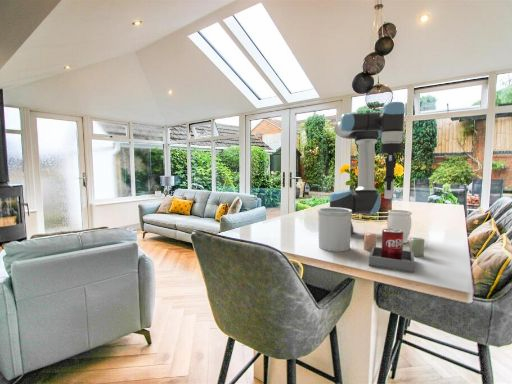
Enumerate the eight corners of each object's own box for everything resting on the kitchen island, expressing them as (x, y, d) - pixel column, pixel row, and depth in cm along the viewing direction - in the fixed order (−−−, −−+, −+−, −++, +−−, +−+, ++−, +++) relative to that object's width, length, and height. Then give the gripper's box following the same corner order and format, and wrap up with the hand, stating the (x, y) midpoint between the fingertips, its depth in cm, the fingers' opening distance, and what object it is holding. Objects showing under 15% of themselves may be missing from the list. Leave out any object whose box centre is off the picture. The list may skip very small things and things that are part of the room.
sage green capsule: (409, 256, 114) (410, 239, 113) (409, 253, 118) (410, 237, 117) (424, 258, 111) (425, 241, 111) (423, 254, 116) (424, 238, 115)
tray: (368, 265, 102) (369, 256, 102) (372, 254, 115) (372, 246, 115) (414, 272, 96) (414, 262, 95) (412, 260, 109) (413, 251, 108)
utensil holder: (332, 254, 116) (333, 213, 115) (310, 245, 130) (311, 208, 128) (358, 249, 123) (359, 210, 122) (334, 241, 136) (335, 206, 135)
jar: (409, 240, 140) (411, 210, 138) (411, 245, 130) (412, 213, 129) (386, 237, 144) (387, 209, 143) (386, 242, 135) (387, 212, 134)
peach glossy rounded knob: (363, 250, 122) (363, 234, 121) (364, 247, 126) (365, 232, 126) (375, 251, 120) (376, 236, 119) (376, 249, 124) (377, 233, 123)
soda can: (377, 258, 109) (378, 228, 108) (394, 258, 110) (396, 228, 109) (387, 264, 102) (389, 232, 101) (406, 264, 102) (407, 232, 101)
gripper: (402, 140, 96) (399, 201, 99) (402, 144, 118) (399, 193, 121) (378, 141, 100) (376, 199, 102) (383, 144, 122) (381, 192, 124)
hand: (389, 196), depth 112 cm, fingers open, 13 cm apart
